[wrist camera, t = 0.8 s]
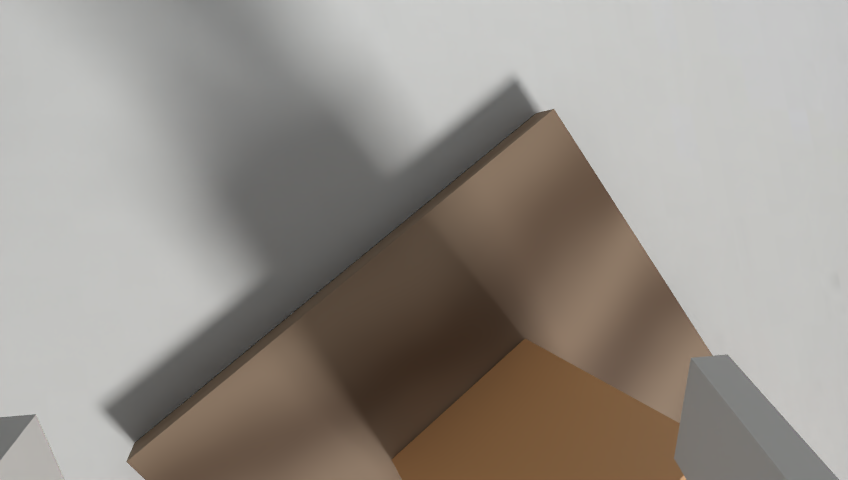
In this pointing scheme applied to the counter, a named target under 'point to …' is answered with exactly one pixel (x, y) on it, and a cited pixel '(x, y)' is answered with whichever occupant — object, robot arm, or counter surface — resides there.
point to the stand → (440, 326)
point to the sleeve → (543, 429)
